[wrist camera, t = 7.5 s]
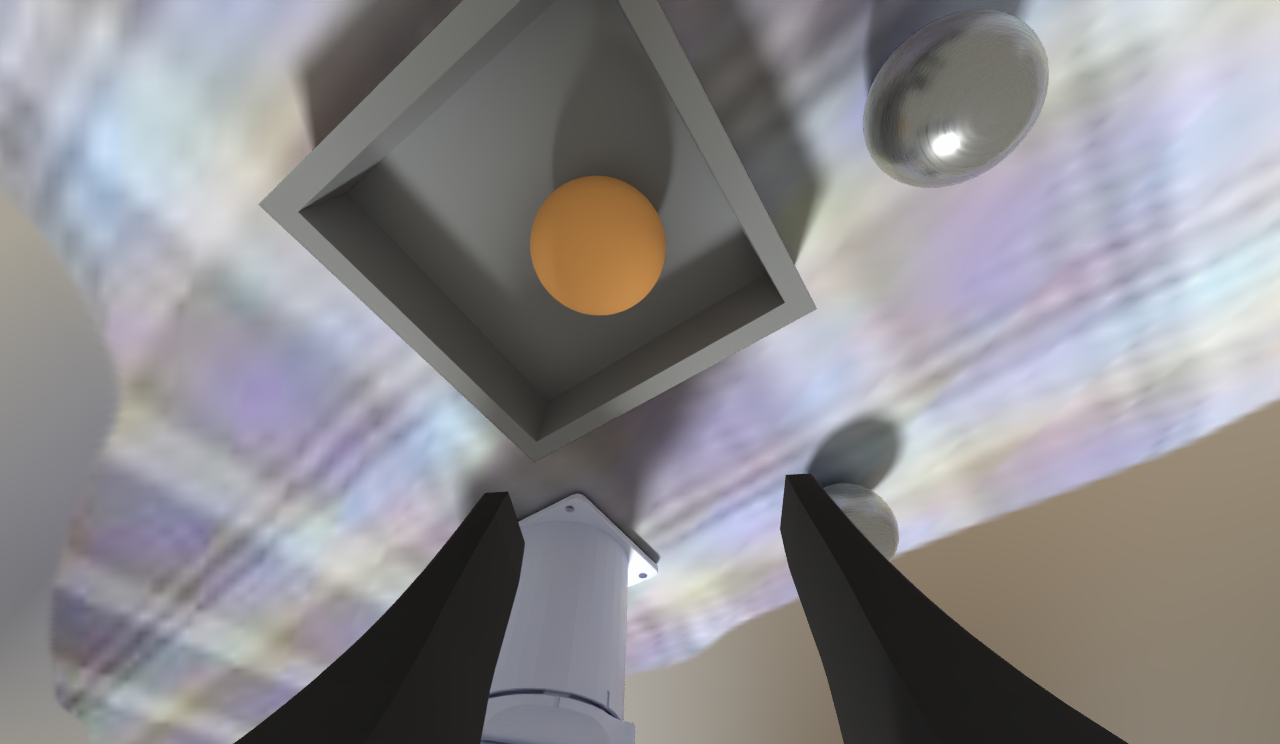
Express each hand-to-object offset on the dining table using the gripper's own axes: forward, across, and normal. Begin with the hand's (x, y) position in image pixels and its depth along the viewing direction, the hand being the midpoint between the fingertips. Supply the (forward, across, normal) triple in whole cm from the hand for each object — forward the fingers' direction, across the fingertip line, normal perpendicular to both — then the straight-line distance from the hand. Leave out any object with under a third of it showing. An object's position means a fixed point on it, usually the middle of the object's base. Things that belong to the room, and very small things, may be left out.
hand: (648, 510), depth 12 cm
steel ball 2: (+7, -9, -8) cm, 14 cm away
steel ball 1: (+7, -9, +10) cm, 16 cm away
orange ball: (+7, +1, -5) cm, 8 cm away
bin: (+9, +3, -5) cm, 11 cm away
